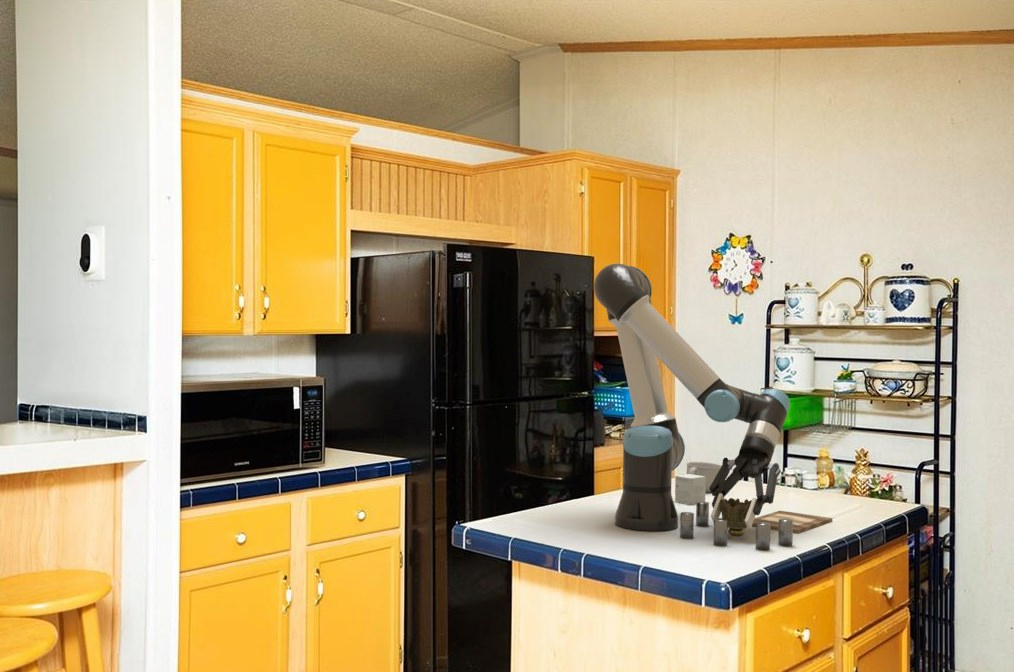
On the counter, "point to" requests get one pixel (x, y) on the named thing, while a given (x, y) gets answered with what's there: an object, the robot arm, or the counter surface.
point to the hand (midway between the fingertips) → (730, 522)
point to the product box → (690, 488)
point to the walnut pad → (799, 520)
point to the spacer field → (722, 525)
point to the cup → (735, 515)
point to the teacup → (704, 471)
